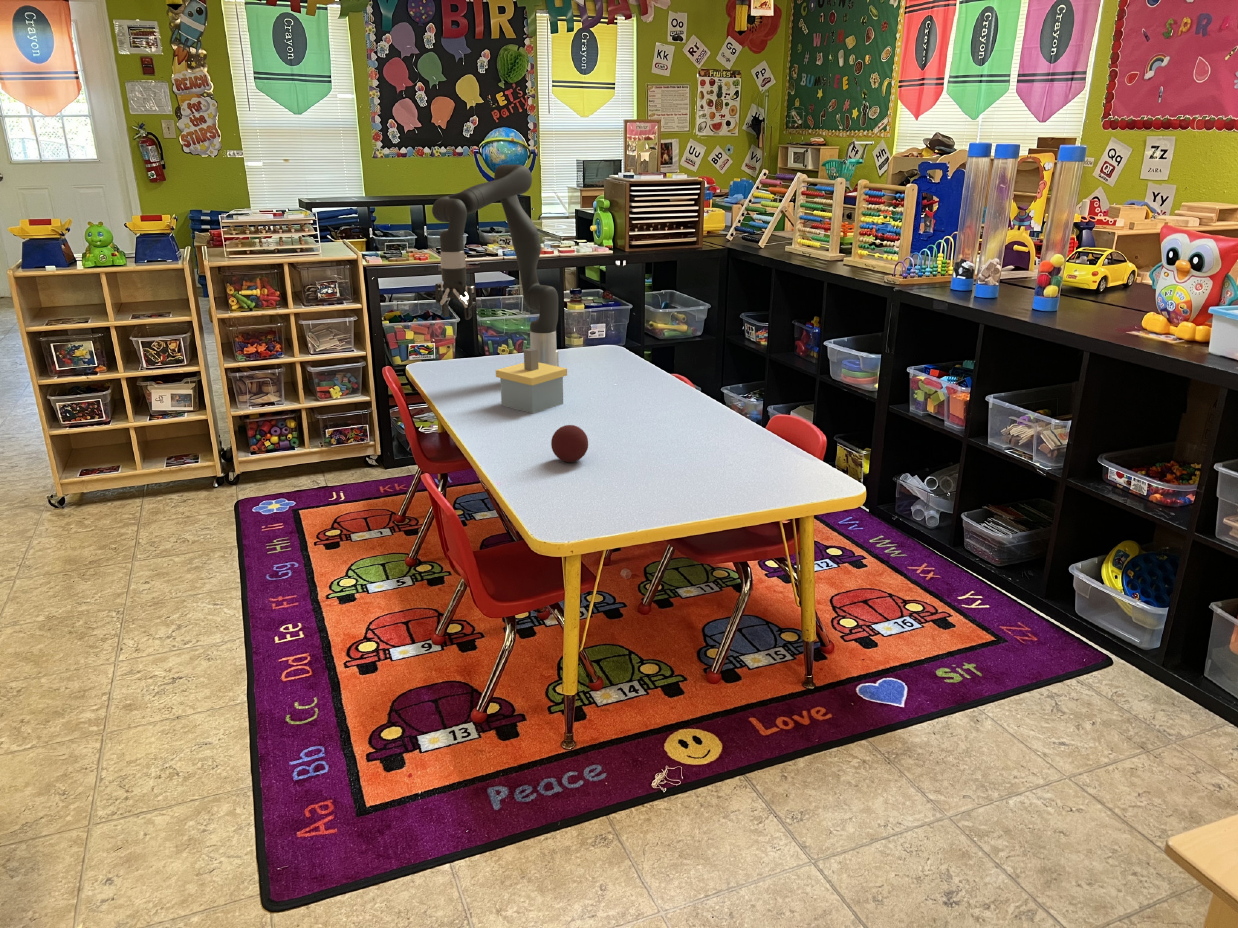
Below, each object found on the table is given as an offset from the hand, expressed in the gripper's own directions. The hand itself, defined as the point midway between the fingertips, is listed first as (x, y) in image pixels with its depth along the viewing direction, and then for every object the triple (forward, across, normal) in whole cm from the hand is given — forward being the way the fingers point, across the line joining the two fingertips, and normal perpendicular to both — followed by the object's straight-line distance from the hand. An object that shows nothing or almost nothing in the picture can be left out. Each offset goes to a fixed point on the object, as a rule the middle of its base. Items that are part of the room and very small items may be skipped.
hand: (457, 318), depth 283 cm
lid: (+19, -20, -11) cm, 30 cm away
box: (+29, -20, -11) cm, 37 cm away
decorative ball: (+28, -58, +29) cm, 71 cm away
